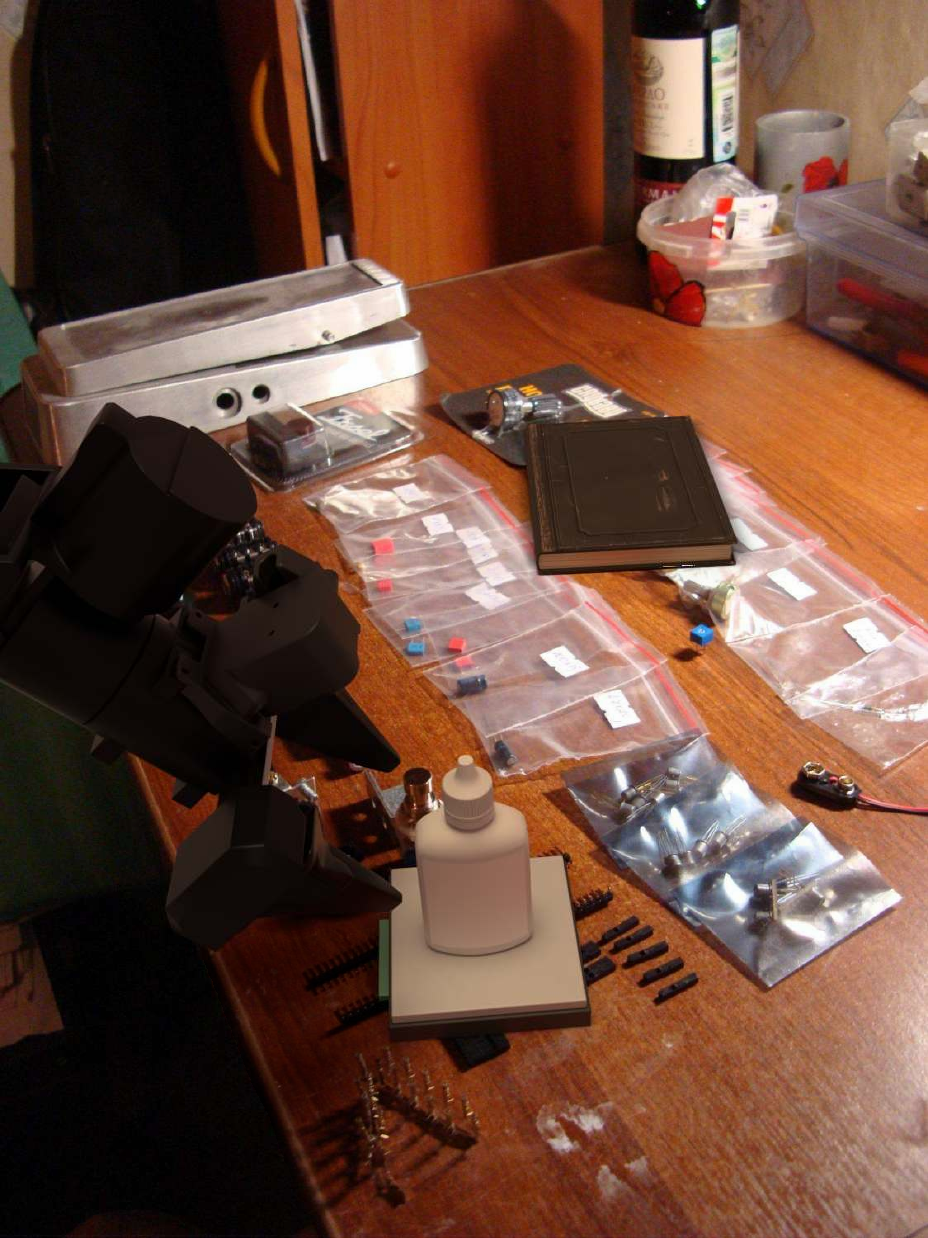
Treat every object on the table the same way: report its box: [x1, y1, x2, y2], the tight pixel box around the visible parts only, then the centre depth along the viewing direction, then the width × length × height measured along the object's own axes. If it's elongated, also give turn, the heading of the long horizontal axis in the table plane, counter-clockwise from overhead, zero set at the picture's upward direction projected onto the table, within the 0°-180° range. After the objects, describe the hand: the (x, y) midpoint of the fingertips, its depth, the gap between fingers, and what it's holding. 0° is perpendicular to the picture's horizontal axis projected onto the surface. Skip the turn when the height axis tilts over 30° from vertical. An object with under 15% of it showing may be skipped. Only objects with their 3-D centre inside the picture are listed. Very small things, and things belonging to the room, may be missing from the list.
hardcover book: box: [523, 414, 739, 576], centre depth 101 cm, size 16×23×2 cm
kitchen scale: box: [378, 855, 592, 1043], centre depth 61 cm, size 11×10×3 cm
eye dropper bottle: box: [414, 754, 533, 955], centre depth 57 cm, size 4×6×12 cm
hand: (396, 830), depth 56 cm, fingers open, 9 cm apart
